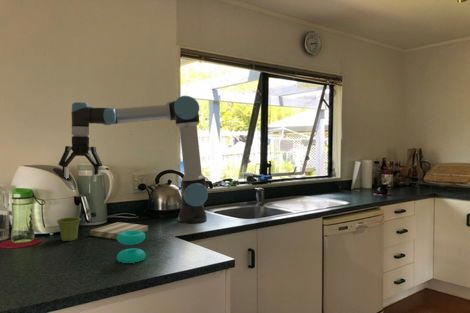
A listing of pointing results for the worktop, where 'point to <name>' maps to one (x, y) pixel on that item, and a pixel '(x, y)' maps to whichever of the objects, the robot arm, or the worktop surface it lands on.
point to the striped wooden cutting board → (116, 229)
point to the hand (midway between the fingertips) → (80, 181)
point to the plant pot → (69, 228)
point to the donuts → (133, 253)
